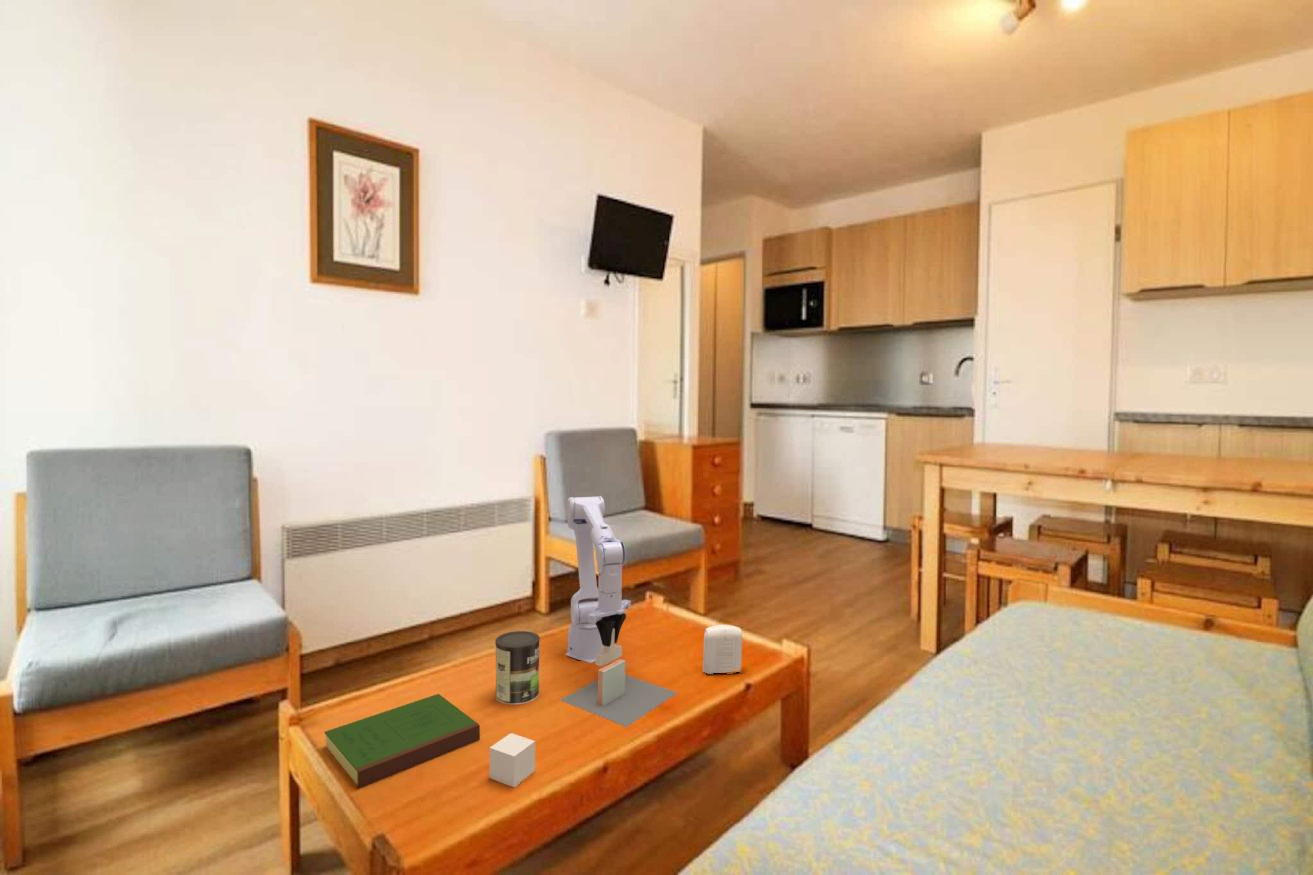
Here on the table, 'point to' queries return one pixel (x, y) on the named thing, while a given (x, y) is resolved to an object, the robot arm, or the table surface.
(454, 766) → the table surface
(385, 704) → the table surface
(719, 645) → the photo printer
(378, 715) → the hardcover book
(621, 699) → the mat
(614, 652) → the beige t-shaped block
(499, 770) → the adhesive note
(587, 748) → the table surface
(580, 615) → the robot arm
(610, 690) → the tile
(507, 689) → the coffee can
